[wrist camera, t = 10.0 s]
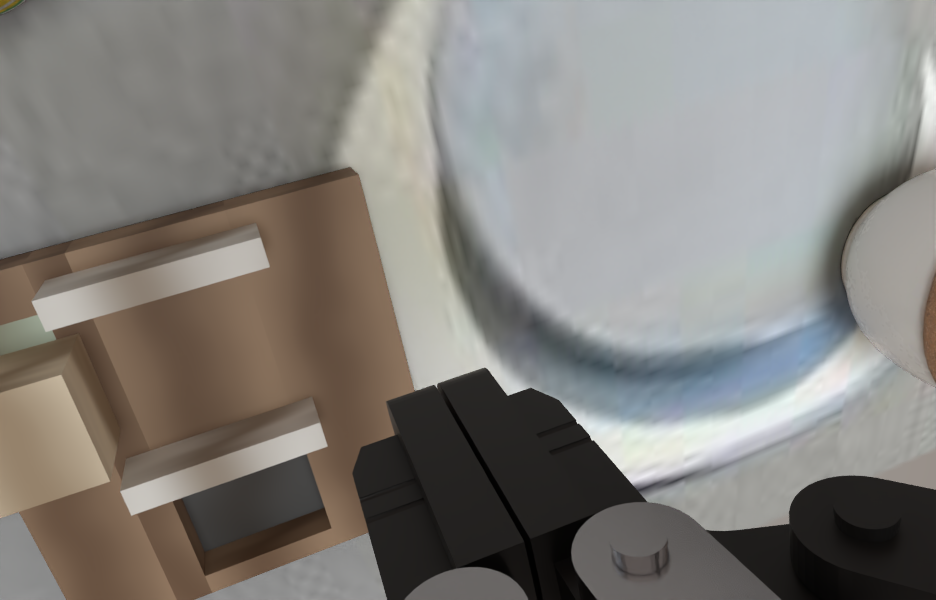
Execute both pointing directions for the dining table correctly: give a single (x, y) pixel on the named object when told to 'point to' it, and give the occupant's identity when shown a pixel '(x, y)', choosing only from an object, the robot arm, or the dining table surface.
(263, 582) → the dining table surface
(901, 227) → the lidded bowl
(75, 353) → the birch block
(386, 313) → the channel deck
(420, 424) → the robot arm
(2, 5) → the supplement bottle
